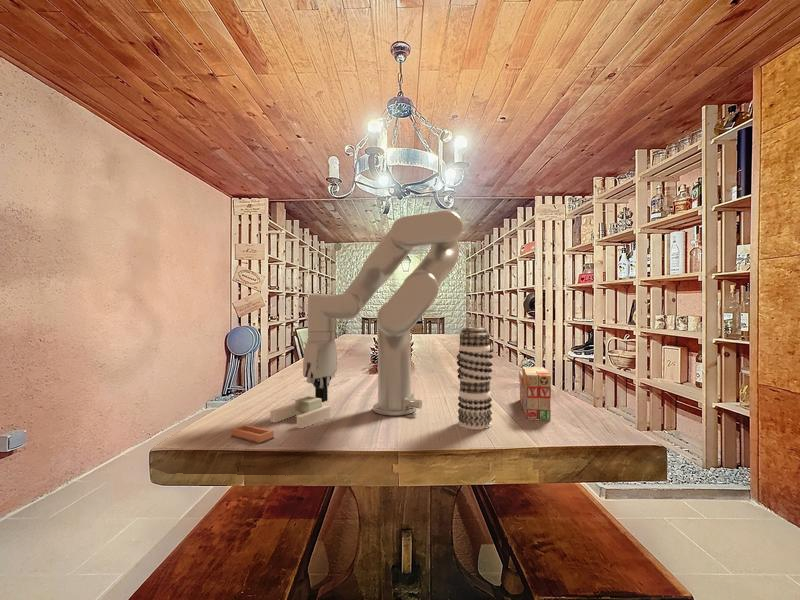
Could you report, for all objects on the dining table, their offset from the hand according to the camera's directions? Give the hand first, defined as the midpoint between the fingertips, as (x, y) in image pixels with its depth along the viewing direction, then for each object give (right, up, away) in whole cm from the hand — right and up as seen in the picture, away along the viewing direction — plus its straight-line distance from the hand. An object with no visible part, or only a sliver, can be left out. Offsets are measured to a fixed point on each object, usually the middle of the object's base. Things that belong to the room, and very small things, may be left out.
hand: (321, 400), depth 120 cm
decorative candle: (+42, -3, -12) cm, 44 cm away
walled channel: (-4, -3, -7) cm, 9 cm away
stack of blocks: (+61, -3, +1) cm, 61 cm away
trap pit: (-12, -4, -21) cm, 25 cm away
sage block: (-3, -4, -5) cm, 6 cm away
